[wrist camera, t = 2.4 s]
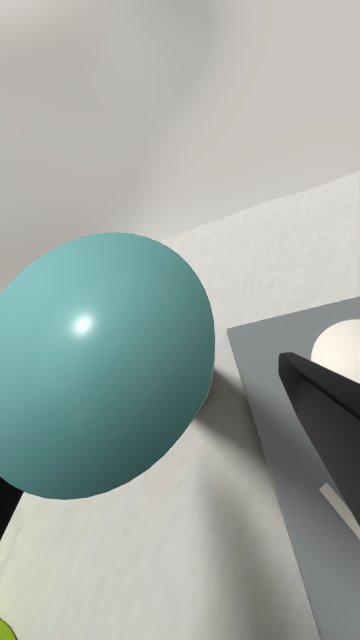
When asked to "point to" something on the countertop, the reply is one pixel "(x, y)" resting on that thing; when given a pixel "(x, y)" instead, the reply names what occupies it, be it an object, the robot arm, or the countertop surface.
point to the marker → (100, 364)
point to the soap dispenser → (5, 632)
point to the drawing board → (307, 454)
